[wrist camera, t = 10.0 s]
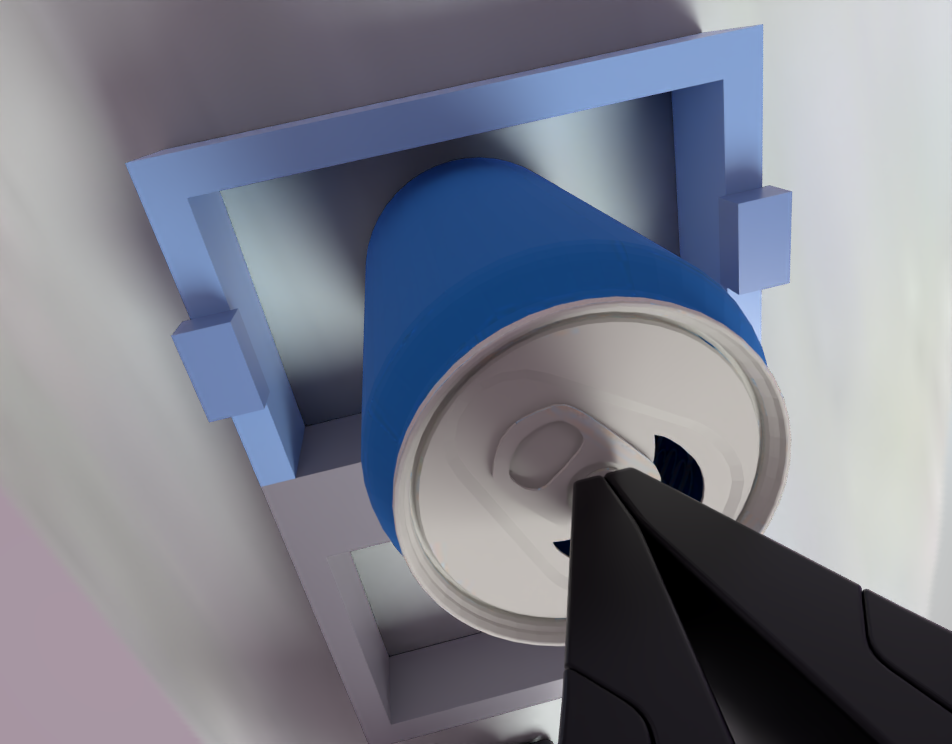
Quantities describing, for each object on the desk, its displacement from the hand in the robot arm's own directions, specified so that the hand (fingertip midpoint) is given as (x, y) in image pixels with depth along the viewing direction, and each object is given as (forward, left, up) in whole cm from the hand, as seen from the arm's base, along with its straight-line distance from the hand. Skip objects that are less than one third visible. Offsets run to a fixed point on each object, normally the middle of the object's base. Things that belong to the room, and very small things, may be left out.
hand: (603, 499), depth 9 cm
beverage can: (0, 0, -12) cm, 12 cm away
